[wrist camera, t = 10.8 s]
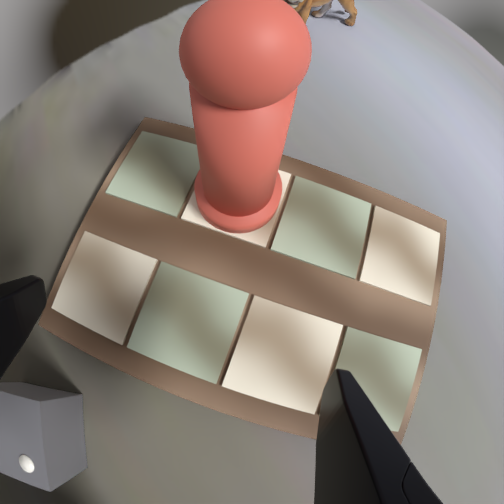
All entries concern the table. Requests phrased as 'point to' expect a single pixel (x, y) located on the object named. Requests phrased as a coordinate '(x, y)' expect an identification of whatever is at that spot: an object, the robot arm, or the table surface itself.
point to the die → (41, 434)
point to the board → (251, 288)
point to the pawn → (242, 104)
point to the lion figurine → (303, 3)
